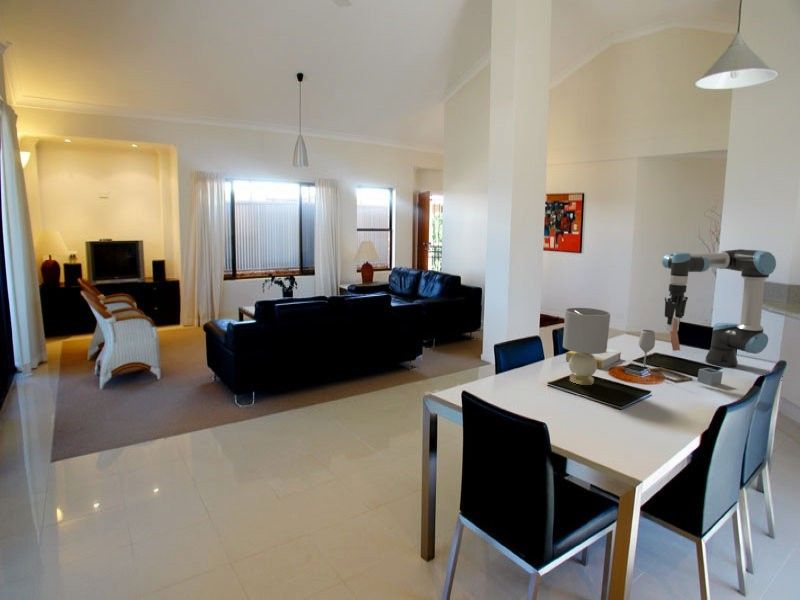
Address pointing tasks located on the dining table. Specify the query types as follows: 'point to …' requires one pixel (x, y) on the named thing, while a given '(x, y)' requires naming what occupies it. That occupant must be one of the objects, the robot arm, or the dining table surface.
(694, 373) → the dining table surface
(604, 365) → the cereal box
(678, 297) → the robot arm
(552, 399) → the dining table surface
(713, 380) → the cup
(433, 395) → the dining table surface
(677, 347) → the tan rounded bar
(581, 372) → the lamp
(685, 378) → the tray
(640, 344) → the wineglass
